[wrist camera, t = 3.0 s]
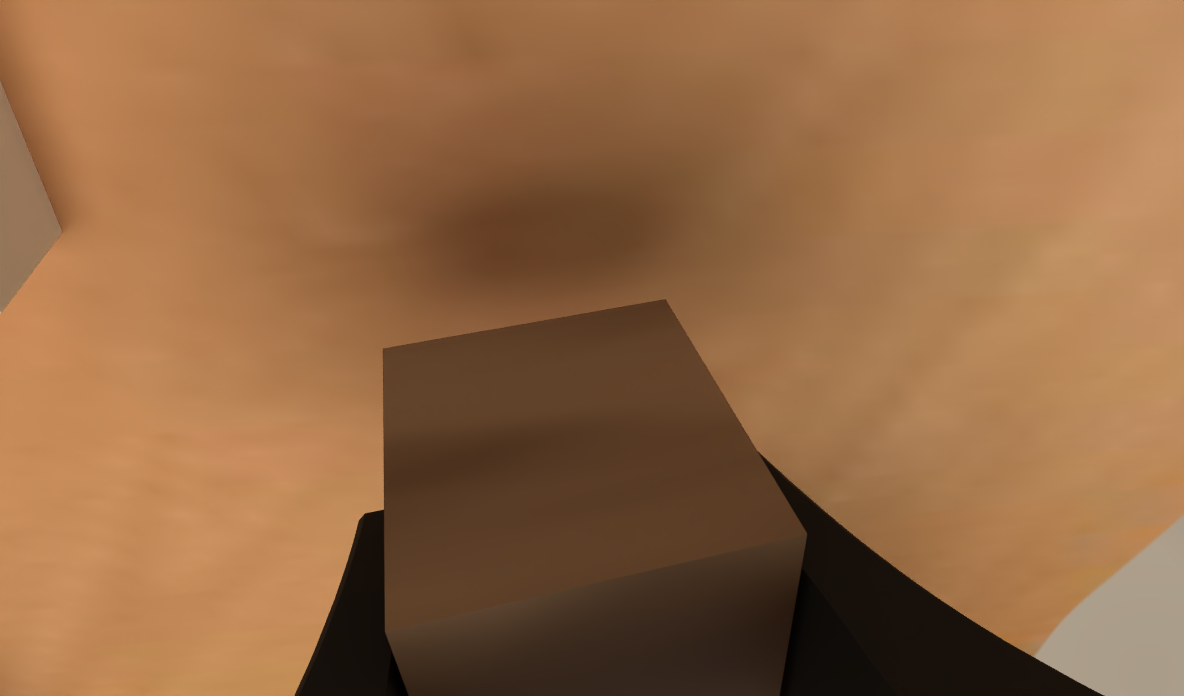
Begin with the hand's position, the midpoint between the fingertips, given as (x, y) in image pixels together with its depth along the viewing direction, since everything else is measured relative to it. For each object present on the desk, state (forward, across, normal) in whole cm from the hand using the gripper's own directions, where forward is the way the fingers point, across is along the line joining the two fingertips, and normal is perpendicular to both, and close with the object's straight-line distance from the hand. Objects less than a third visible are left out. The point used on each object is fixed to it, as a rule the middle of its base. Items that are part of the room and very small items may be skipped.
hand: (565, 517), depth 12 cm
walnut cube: (+2, 0, 0) cm, 2 cm away
